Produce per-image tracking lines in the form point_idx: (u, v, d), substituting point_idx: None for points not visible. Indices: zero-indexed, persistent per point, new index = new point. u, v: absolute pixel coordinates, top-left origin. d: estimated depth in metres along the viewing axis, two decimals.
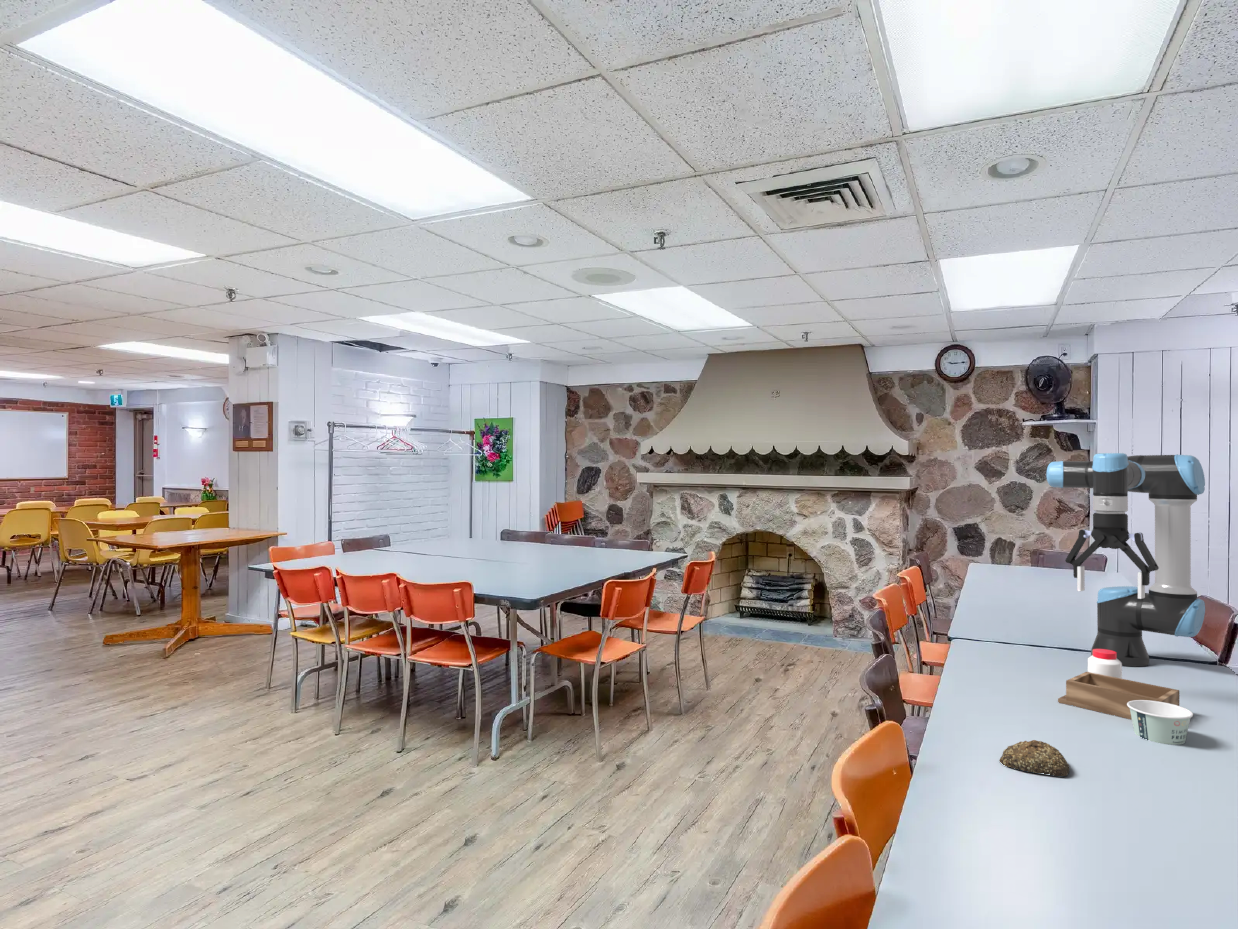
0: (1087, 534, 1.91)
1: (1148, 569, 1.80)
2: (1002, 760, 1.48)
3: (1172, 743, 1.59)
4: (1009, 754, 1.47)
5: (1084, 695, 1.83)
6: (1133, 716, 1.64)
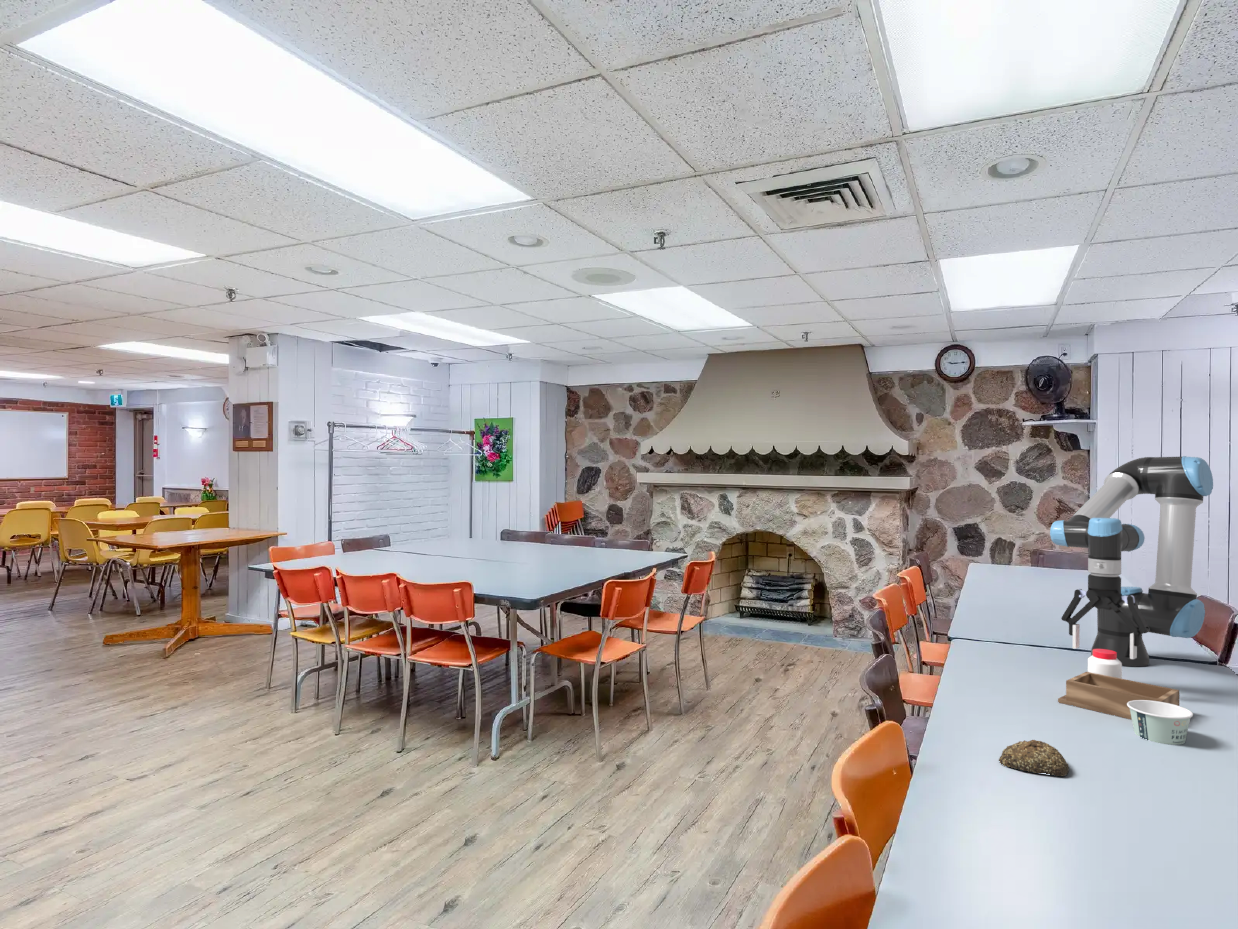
0: (1082, 594, 2.00)
1: (1140, 631, 1.89)
2: (1001, 760, 1.48)
3: (1172, 743, 1.59)
4: (1008, 754, 1.48)
5: (1084, 695, 1.83)
6: (1133, 716, 1.64)
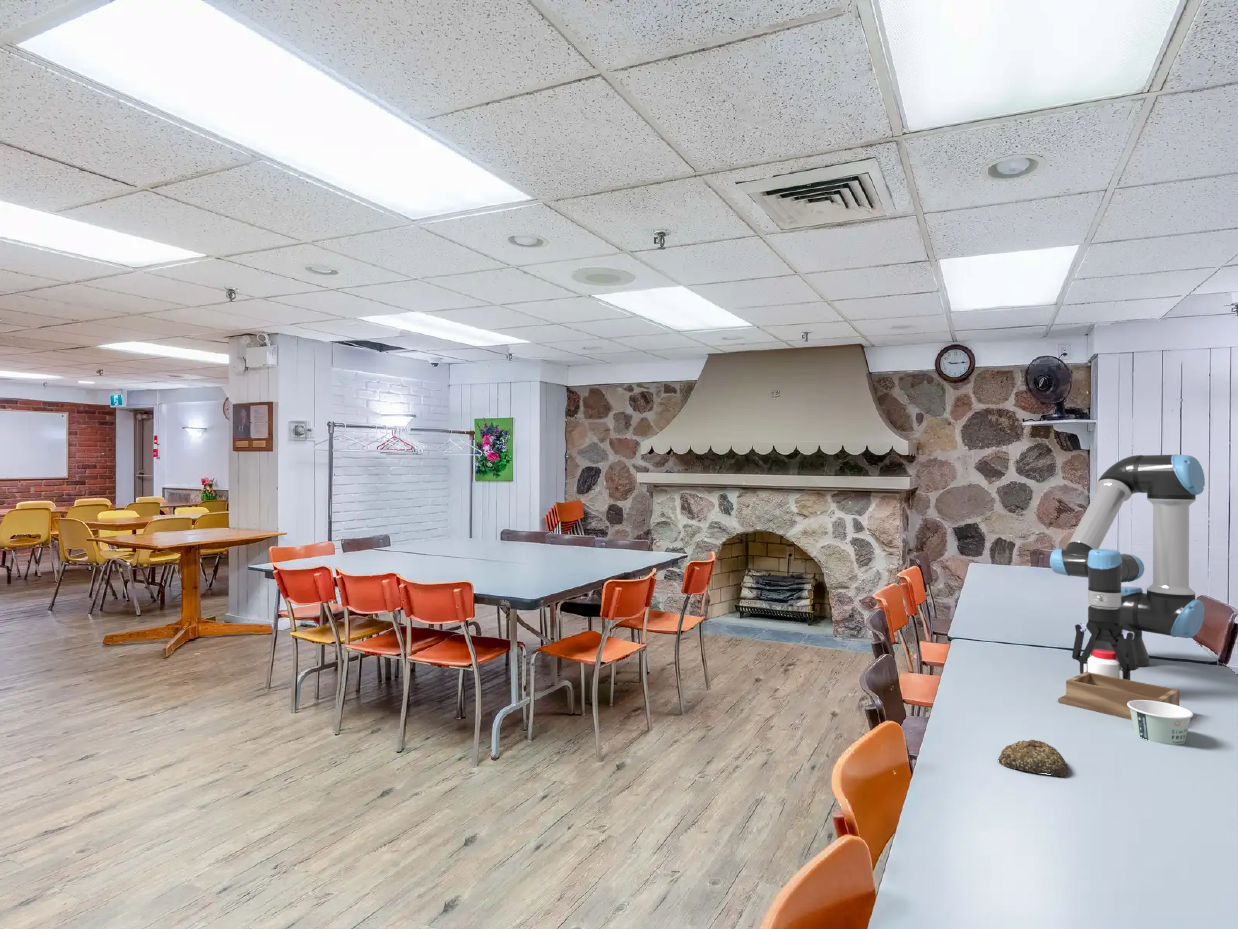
0: (1083, 628, 2.00)
1: (1129, 668, 1.91)
2: (1000, 760, 1.48)
3: (1172, 743, 1.59)
4: (1007, 754, 1.48)
5: (1084, 695, 1.83)
6: (1133, 716, 1.64)
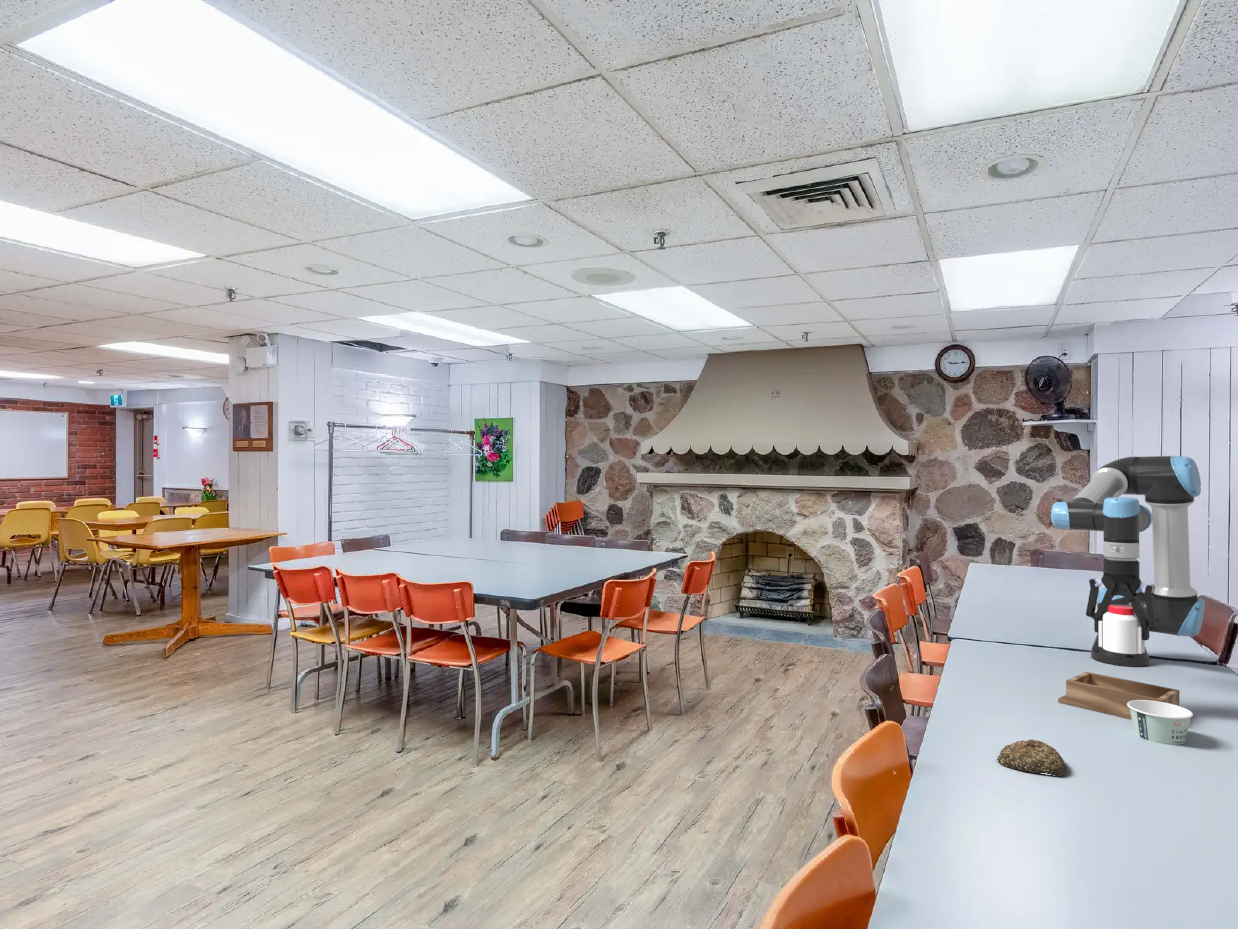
0: (1098, 582, 1.86)
1: (1148, 624, 1.77)
2: (999, 759, 1.48)
3: (1172, 743, 1.59)
4: (1006, 753, 1.48)
5: (1084, 695, 1.83)
6: (1133, 716, 1.64)
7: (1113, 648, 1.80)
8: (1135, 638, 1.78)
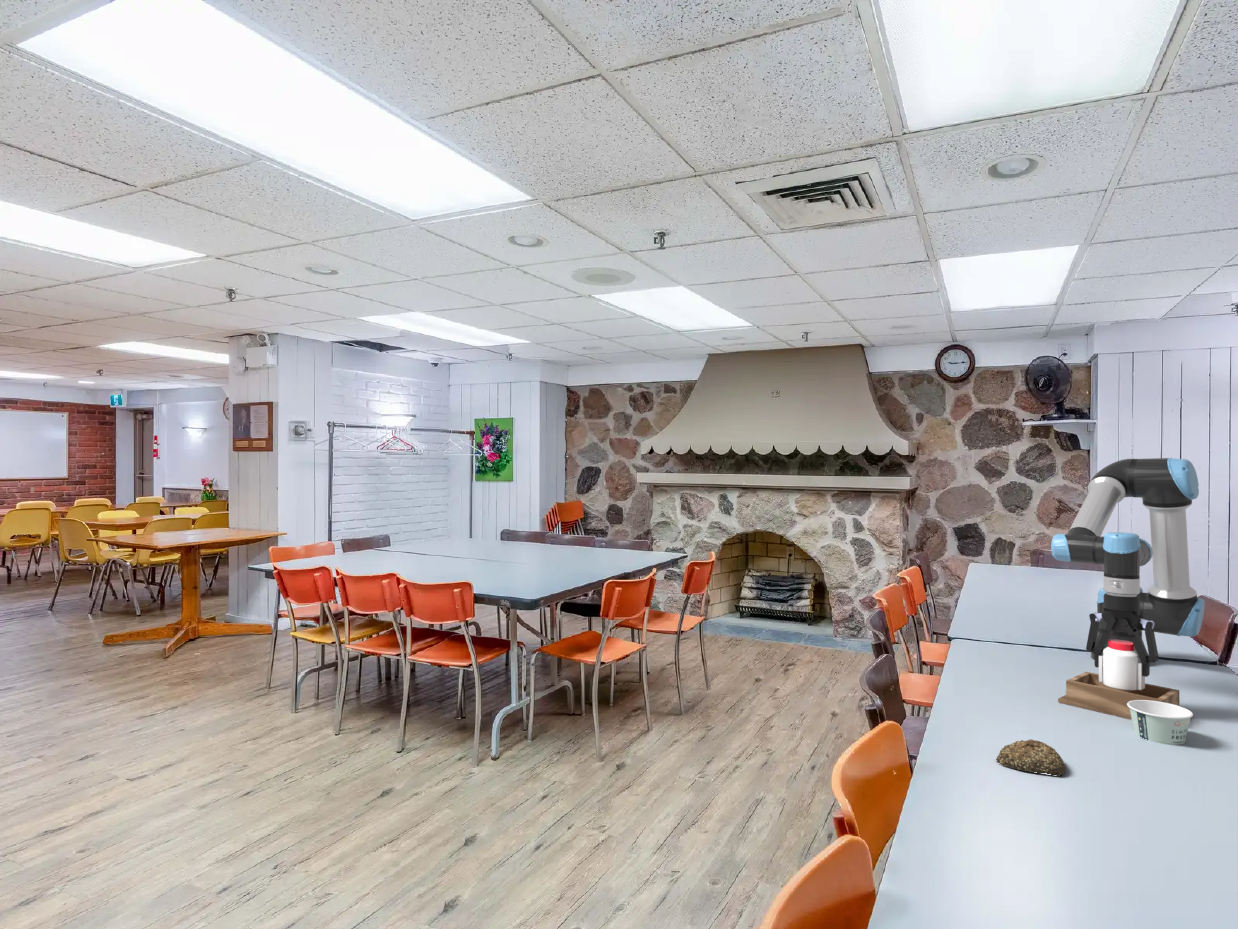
0: (1098, 617, 1.86)
1: (1148, 660, 1.77)
2: (999, 759, 1.48)
3: (1172, 743, 1.59)
4: (1006, 753, 1.48)
5: (1084, 695, 1.83)
6: (1133, 716, 1.64)
7: (1113, 684, 1.80)
8: (1135, 674, 1.78)
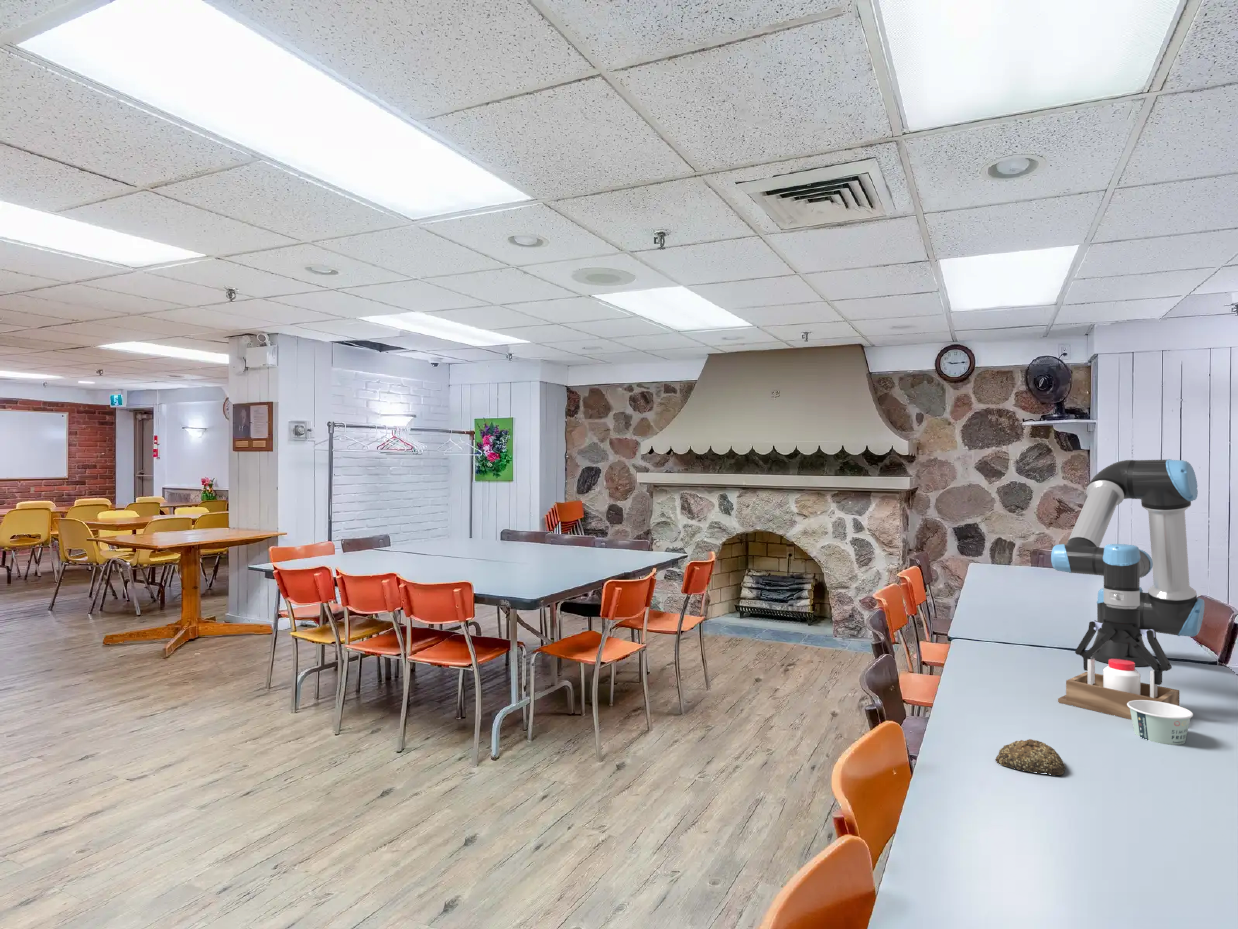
0: (1097, 626, 1.86)
1: (1161, 668, 1.75)
2: (998, 759, 1.48)
3: (1172, 743, 1.59)
4: (1005, 753, 1.48)
5: (1084, 695, 1.83)
6: (1133, 716, 1.64)
7: None
8: None
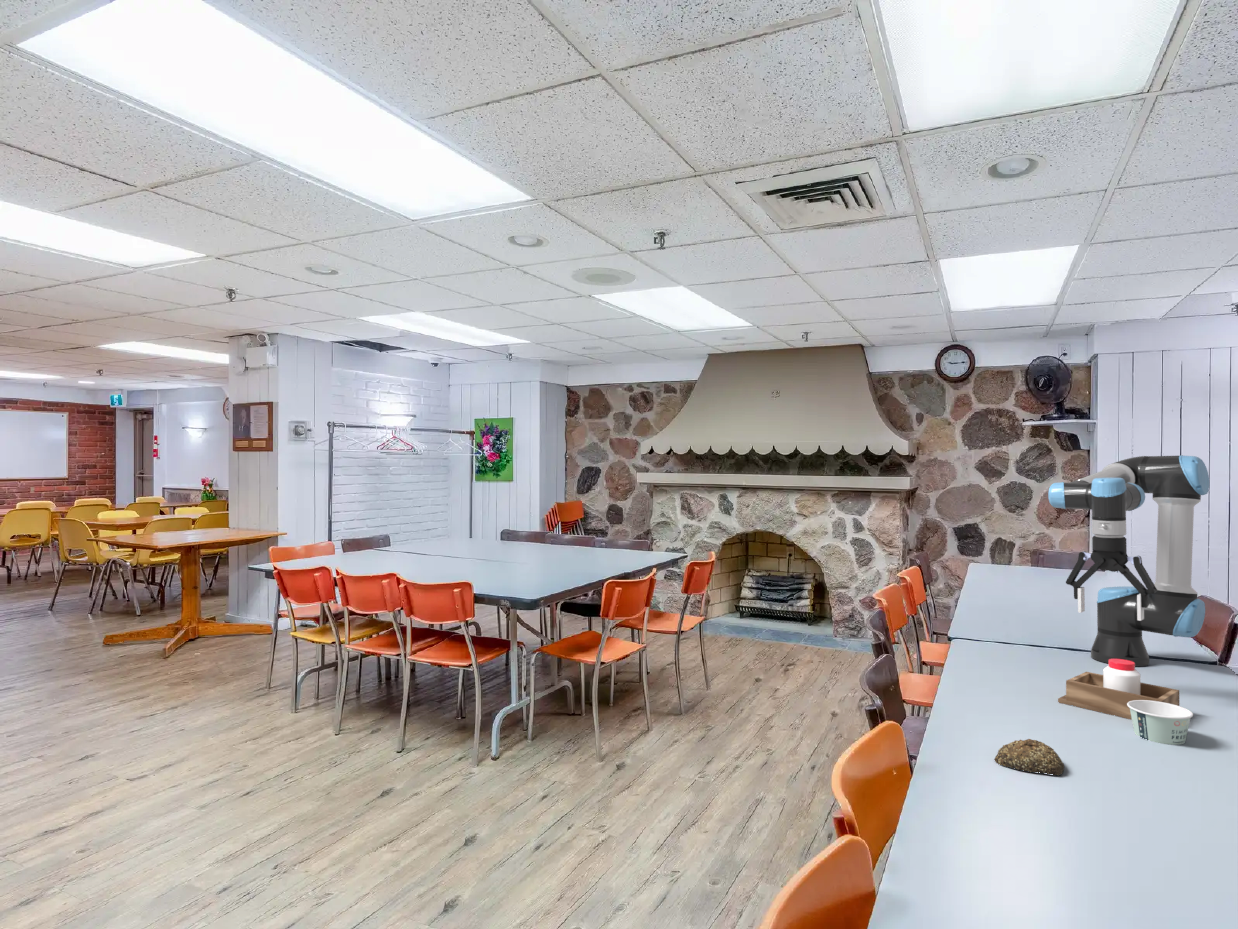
0: (1087, 557, 1.95)
1: (1147, 592, 1.85)
2: (997, 759, 1.49)
3: (1172, 743, 1.59)
4: (1004, 753, 1.48)
5: (1084, 695, 1.83)
6: (1133, 716, 1.64)
7: None
8: None
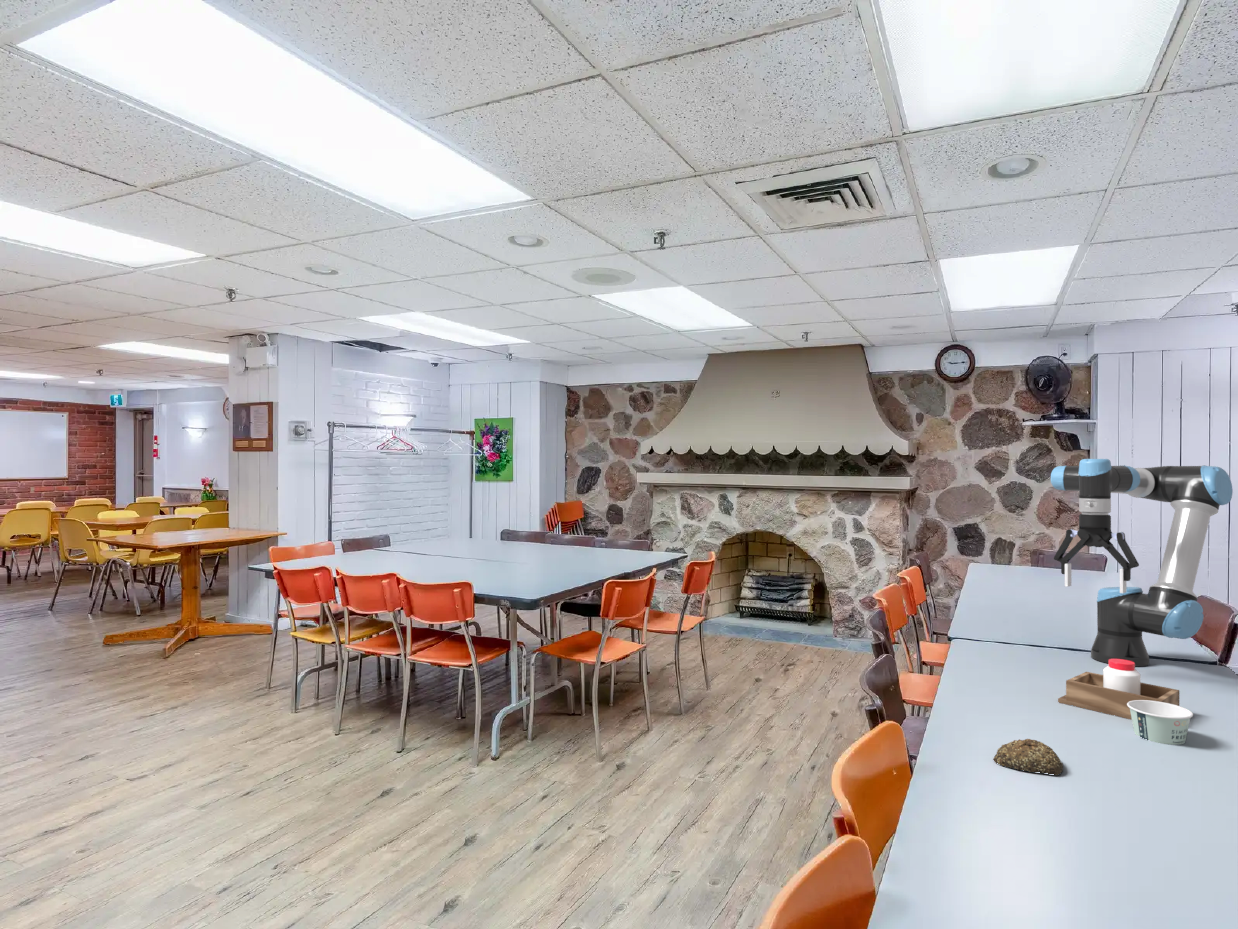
0: (1074, 533, 2.07)
1: (1129, 566, 1.96)
2: (996, 759, 1.49)
3: (1172, 743, 1.59)
4: (1003, 753, 1.48)
5: (1084, 695, 1.83)
6: (1133, 716, 1.64)
7: None
8: None
